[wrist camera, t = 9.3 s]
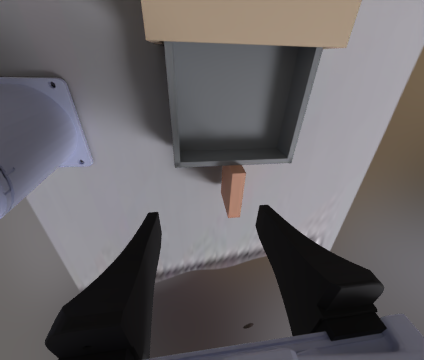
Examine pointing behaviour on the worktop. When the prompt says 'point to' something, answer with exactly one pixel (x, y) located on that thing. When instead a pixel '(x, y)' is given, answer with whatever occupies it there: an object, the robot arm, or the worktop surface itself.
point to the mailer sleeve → (251, 22)
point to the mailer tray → (237, 106)
